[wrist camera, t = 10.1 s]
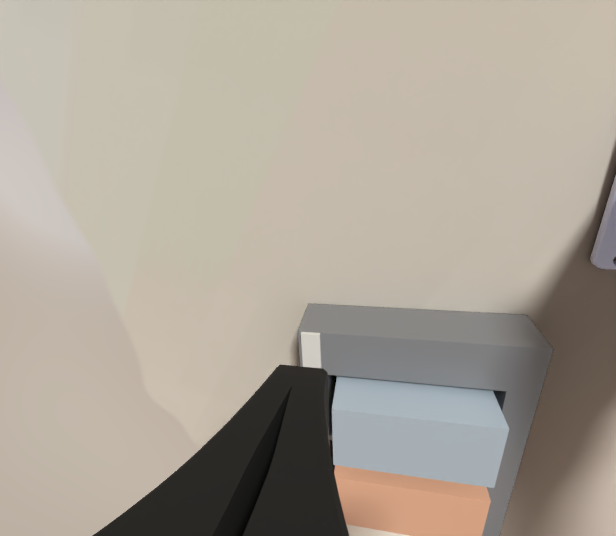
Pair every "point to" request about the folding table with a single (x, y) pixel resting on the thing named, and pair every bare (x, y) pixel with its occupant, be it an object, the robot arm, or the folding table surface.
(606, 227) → the robot arm
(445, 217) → the folding table surface
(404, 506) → the terracotta key
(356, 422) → the slate key
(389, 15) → the folding table surface
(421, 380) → the grey shallow tray
